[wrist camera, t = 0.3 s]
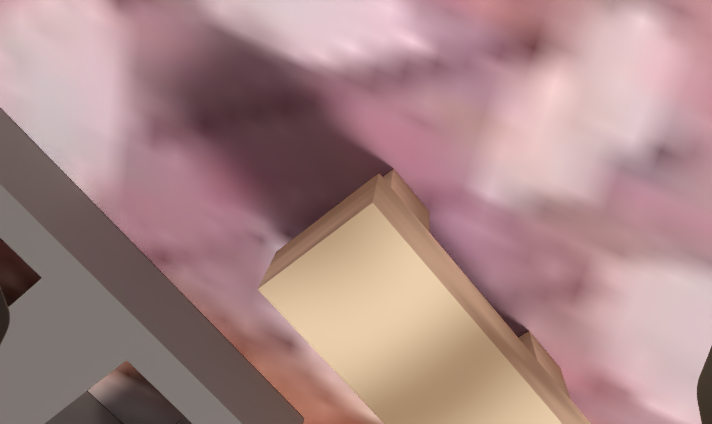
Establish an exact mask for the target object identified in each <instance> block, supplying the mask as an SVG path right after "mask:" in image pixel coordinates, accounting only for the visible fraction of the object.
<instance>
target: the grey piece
mask: <svg viewBox="0 0 712 424" xmlns="http://www.w3.org/2000/svg"><path fill="white" fill-rule="evenodd" d="M0 238H1V239H2V240H3V241H4V242H5V243H6V244H7V245H8V246H9V247H10V248H11V249H12V250H13V251H14V252H15V253H16V254H17V255H19V256H20V257H21V258H22V259H23V260H24V261H25V262H26V263H27V264H28V265H29V266H30V267H31V268H32V269H33V270H34V271H35V272H36V273H37V274H38V275H39V276H40V277H41V279H40V280H39V281H38V282H37V283H36V284H34V285H33V286H32V287H31V288H30V289H29V290H28V291H26V292H25V293H24V294H23V295H22V296H21V297H20V298H18V299H17V300H16V301H15V302H14V303H13V304H12V305H10V306H9V307H8V308H9V312H10V323H9V327H8V330H7V333H6V335H5V337H4V339H3V341H2V343H1V345H0V424H122V423H121V422H119V421H118V420H117V419H116V418H115V417H114V416H113V415H112V414H111V413H110V412H109V411H108V410H107V409H106V408H105V407H103V406H102V405H101V404H100V403H99V402H98V401H97V400H96V399H95V398H94V397H93V396H92V395H91V394H90V393H89V392H87V390H89V389H90V388H91V387H92V386H94V385H95V384H96V383H98V382H99V381H100V380H102V379H103V378H104V377H105V376H107V375H108V374H109V373H111V372H112V371H113V370H114V369H116V368H117V367H118V366H120V365H121V364H122V363H123V362H125V361H126V360H127V361H128V362H129V363H130V364H131V365H132V366H133V367H134V368H135V369H136V370H137V371H138V372H139V373H140V374H142V375H143V376H144V377H145V378H146V379H147V380H148V381H149V382H150V383H151V384H152V385H153V386H154V387H155V388H156V389H157V390H158V391H159V392H160V393H161V394H162V395H163V396H164V397H165V398H166V399H167V400H168V401H169V402H170V403H171V404H173V405H174V406H175V407H176V408H177V409H178V410H179V411H180V412H181V413H182V414H183V415H184V416H185V418H184V419H182V420H181V421H180V422H178V423H177V424H303V423H304V418H303V417H302V416H301V415H300V414H299V413H298V412H297V411H296V410H295V409H294V408H293V407H292V406H291V405H290V404H289V403H288V402H287V401H286V400H285V399H284V398H283V397H282V396H281V395H280V394H279V392H278V391H277V390H276V389H275V388H274V387H273V386H272V385H271V384H270V383H269V382H268V381H267V380H266V379H265V378H264V377H263V376H262V375H261V374H260V373H259V372H258V371H257V370H256V369H255V368H254V367H253V366H252V365H251V364H250V363H249V362H248V361H247V360H246V359H245V358H244V357H243V356H242V355H241V354H240V353H239V352H238V351H237V350H236V349H235V348H234V346H233V345H232V344H231V343H230V342H229V341H228V340H227V339H226V338H225V337H224V336H223V335H222V334H221V333H220V332H219V331H218V330H217V329H216V328H215V327H214V326H213V325H212V324H211V323H210V322H209V321H208V320H207V319H206V318H205V317H204V316H203V315H202V314H201V313H200V312H199V311H198V310H197V309H196V308H195V307H194V306H193V305H192V304H191V303H190V301H189V300H188V299H187V298H186V297H185V296H184V295H183V294H182V293H181V292H180V291H179V290H178V289H177V288H176V287H175V286H174V285H173V284H172V283H171V282H170V281H169V280H168V279H167V278H166V277H165V276H164V275H163V274H162V273H161V272H160V271H159V270H158V269H157V268H156V267H155V266H154V265H153V264H152V263H151V262H150V261H149V260H148V259H147V258H146V257H145V255H144V254H143V253H142V252H141V251H140V250H139V249H138V248H137V247H136V246H135V245H134V244H133V243H132V242H131V241H130V240H129V239H128V238H127V237H126V236H125V235H124V234H123V233H122V232H121V231H120V230H119V229H118V228H117V227H116V226H115V225H114V224H113V223H112V222H111V221H110V220H109V219H108V218H107V217H106V216H105V215H104V214H103V213H102V212H101V211H100V209H99V208H98V207H97V206H96V205H95V204H94V203H93V202H92V201H91V200H90V199H89V198H88V197H87V196H86V195H85V194H84V193H83V192H82V191H81V190H80V189H79V188H78V187H77V186H76V185H75V184H74V183H73V182H72V181H71V180H70V179H69V178H68V177H67V176H66V175H65V174H64V173H63V172H62V171H61V170H60V169H59V168H58V167H57V166H56V165H55V163H54V162H53V161H52V160H51V159H50V158H49V157H48V156H47V155H46V154H45V153H44V152H43V151H42V150H41V149H40V148H39V147H38V146H37V145H36V144H35V143H34V142H33V141H32V140H31V139H30V138H29V137H28V136H27V135H26V134H25V133H24V132H23V131H22V130H21V129H20V128H19V127H18V126H17V125H16V124H15V123H14V122H13V121H12V120H11V119H10V117H9V116H8V115H7V114H6V113H5V112H4V111H3V110H2V109H1V108H0Z"/></svg>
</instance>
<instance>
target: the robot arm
mask: <svg viewBox="0 0 712 424" xmlns="http://www.w3.org/2000/svg"><path fill="white" fill-rule="evenodd" d="M9 323H10V312H9V308H8V305H7V303H6V300H5V297H4V294H3V291H2V289H1V286H0V345H1V343H2V341H3V339H4V337H5V335H6V333H7V330H8V327H9ZM697 400H698V406H699V411H700V416H701V421H702V424H712V347H711V349H710V352H709V354H708V357H707V359H706V362H705V364H704V367H703V369H702V372H701V374H700V377H699V380H698V385H697Z"/></svg>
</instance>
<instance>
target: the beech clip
mask: <svg viewBox="0 0 712 424" xmlns="http://www.w3.org/2000/svg"><path fill="white" fill-rule="evenodd" d="M258 290H259V291H260V292H261V293H262V294H263V296H264V297H265V298H266V299H267V300H268V301H269V302H270V303H271V304H272V305H273V306H274V307H275V308H276V309H277V310H278V311H279V313H280V314H281V315H282V316H283V317H284V318H285V319H286V320H287V321H288V322H289V323H290V324H291V325H292V326H293V327H294V328H295V329H296V331H297V332H298V333H299V334H300V335H301V336H302V337H303V338H304V339H305V340H306V341H307V342H308V343H309V344H310V345H311V346H312V348H313V349H314V350H315V351H316V352H317V353H318V354H319V355H320V356H321V357H322V358H323V359H324V360H325V361H326V362H327V363H328V365H329V366H330V367H331V368H332V369H333V370H334V371H335V372H336V373H337V374H338V375H339V376H340V377H341V378H342V379H343V380H344V381H345V383H346V384H347V385H348V386H349V387H350V388H351V389H352V390H353V391H354V392H355V393H356V394H357V395H358V396H359V397H360V398H361V400H362V401H363V402H364V403H365V404H366V405H367V406H368V407H369V408H370V409H371V410H372V411H373V412H374V413H375V414H376V415H377V416H378V418H379V419H380V420H381V421H382V422H383V423H384V424H591V423H590V422H589V421H588V420H587V419H586V417H585V416H584V415H583V414H582V413H581V411H580V410H579V409H578V408H577V407H576V406H575V404H574V403H573V402H572V401H571V399H570V396H569V393H568V390H567V387H566V384H565V381H564V378H563V375H562V372H561V369H560V367H559V366H558V365H557V364H556V362H555V361H554V360H553V359H552V358H551V356H550V355H549V354H548V353H547V352H546V350H545V349H544V348H543V347H542V346H541V344H540V343H539V342H538V341H537V340H536V338H535V337H534V336H533V335H532V334H531V332H530V331H528V332H526V333H525V334H523V335H521V336H520V337H517V336H516V335H515V333H514V332H513V331H512V330H511V329H510V327H509V326H508V325H507V324H506V323H505V322H504V320H503V319H502V318H501V317H500V316H499V314H498V313H497V312H496V311H495V310H494V308H493V307H492V306H491V305H490V304H489V303H488V301H487V300H486V299H485V298H484V297H483V295H482V294H481V293H480V292H479V291H478V290H477V288H476V287H475V286H474V285H473V284H472V282H471V281H470V280H469V279H468V278H467V277H466V275H465V274H464V273H463V272H462V271H461V269H460V268H459V267H458V266H457V265H456V264H455V262H454V261H453V260H452V259H451V258H450V256H449V255H448V254H447V253H446V252H445V250H444V249H443V248H442V247H441V246H440V245H439V243H438V242H437V241H436V240H435V239H434V237H433V236H432V235H431V234H430V229H429V211H428V209H427V208H426V207H425V206H424V205H423V203H422V202H421V201H420V200H419V199H418V198H417V196H416V195H415V194H414V193H413V192H412V190H411V189H410V188H409V187H408V186H407V184H406V183H405V182H404V181H403V180H402V178H401V177H400V176H399V175H398V174H397V172H396V171H395V170H394V169H393V170H391V171H390V172H389V173H387V174H386V175H385V176H383V177H382V176H381V175H380V174H379V173H378V174H377V175H376V176H374V177H373V178H372V179H370V180H369V181H368V182H366V183H365V184H364V185H363V186H361V187H360V188H359V189H357V190H356V191H355V192H353V193H352V194H351V195H350V196H348V197H347V198H346V199H344V200H343V201H342V202H340V203H339V204H338V205H337V206H335V207H334V208H333V209H331V210H330V211H329V212H327V213H326V214H325V215H324V216H322V217H321V218H320V219H318V220H317V221H316V222H314V223H313V224H312V225H311V226H309V227H308V228H307V229H305V230H304V231H303V232H301V233H300V234H299V235H298V236H296V237H295V238H294V239H292V240H291V241H290V242H288V243H287V244H286V245H285V246H283V247H282V248H281V249H279V250H278V251H277V252H276V254H275V256H274V258H273V260H272V262H271V264H270V266H269V268H268V270H267V272H266V274H265V276H264V278H263V280H262V282H261V284H260V286H259V288H258Z"/></svg>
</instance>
